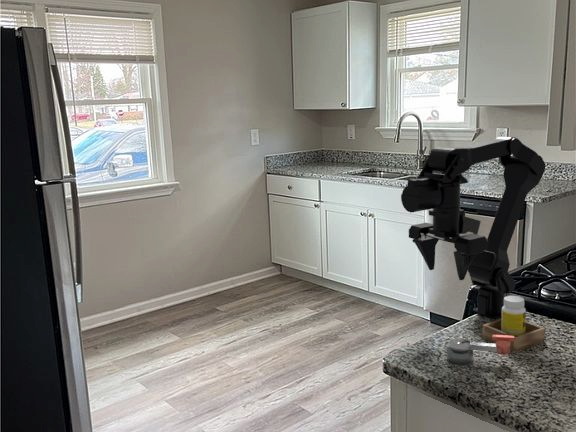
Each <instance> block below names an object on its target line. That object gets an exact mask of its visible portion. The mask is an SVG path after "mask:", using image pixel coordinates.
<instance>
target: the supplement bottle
mask: <svg viewBox="0 0 576 432" xmlns="http://www.w3.org/2000/svg"><path fill="white" fill-rule="evenodd" d="M526 314H527V309H526V307H525V299H524V297H522V296H518V295H507V296H506V297H504V306H503V307H502V317H501V319H502V321H501V331H503V332H505V333H507V334H510V335H512V336H515V337H518V336H520V335H523V334H525V323H526V322H527V320H526V317H527V316H526Z"/></svg>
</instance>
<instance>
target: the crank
mask: <svg viewBox="0 0 576 432" xmlns="http://www.w3.org/2000/svg"><path fill="white" fill-rule="evenodd" d="M492 340H496V344H495V343H493V342H488V343H487V342H477V341H476V342H475V341H470V340H469V339H465V338H463V337H462V338H460V337H457V338H456V337H455V338H452V339H450V340H449V348H450V349H451V350H452V351H455V352H468V351H470V350H473V351H483V352H495V353H497V354H499V355H502V356H505V355H506V356H507V355H509V354H510V353H511V350H510V341H514V336H507V335H492Z"/></svg>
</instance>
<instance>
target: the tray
mask: <svg viewBox="0 0 576 432" xmlns="http://www.w3.org/2000/svg"><path fill="white" fill-rule="evenodd" d="M501 321H502V318H499V319H497V320H493V321H490V322H488V323H485V324H482V339H484V340H486V341H489V342H490V343H494V344H496V340H492V335H507V336H512V335H510V334H507V333H505V332H503V331H501ZM545 338H546V328H545V327H543V326H540V325H538V324H536V323H535V324H534V323H532V322H529V321H526V323H525V334H523V335H520V336H518V337H515V336H514V341H510V352H511V351H512V352H514V353H519V352H522V351H524V350H527V349H529V348H532V347H534V346H537V345H540V344H543V343H545V342H546V341H545V340H546V339H545Z"/></svg>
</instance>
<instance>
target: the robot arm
mask: <svg viewBox="0 0 576 432" xmlns="http://www.w3.org/2000/svg"><path fill="white" fill-rule="evenodd" d="M495 159H498V162H499V164H500V165H501V166H502V167H503V168H504V170H503V175H502V176H503V181H504V185H505V188H504V191H503V193H502V197H501V199H500V202H499V205H498V209H497V210H496V214H495V216H494V218H493V219H494V220H493V222H492V225H491V228H490V230H489V233H488V236H487V237H486V236H485V235H480V234H478V233H479V229H480V227H481V226H480V225H481V223H482V221H481V220H478V219H475V218H472V217H468V216H466V212H465V209H461V185H464V184H467V183H468V182H469V180H468V179H467V178H466V177H464V175H463V174H464V173H466V172H467V171H469V170H470V169H471V167H472V166H474V165H476V164H480V163H483V162H489V161H490V160H491V161H493V160H495ZM545 171H546V162H545V160H544V159H543V157H542V156H541V155H539V154H538V153H537V151H535V150H533V149H532V148H530V147H528V146H527V145H525V144H524V143H522V141H521V140H520V138H519V139H518V138H517V137H515V136H498V137H496V138H495V139H489V140H486V141H482V142H477V143H474V144H470V145H465V146H461V147H460V146H459V147H458V146H440V147H438V146H436V147H434V148H432V149H431V150H430V153H429V155H428V157H427V159H426V161H425V163H424V165H423V167H422V168H421V170H420V173H419V174H418V177H417V178H416V179H414V178H412V179H407V185H406V186H405V187H404V188H403V189H402V193H401V194H400V198H401V199H400V200H401V201H400V202H401V204H402V206H403V208H404V209H405V210H406V211H407V212H408V213H417V212H422V211H427V210H428V215H429V216H430V217H432V223H429V222H422V223H418V224H412V225H410V227H409V228H408V238H409V239H412V243H414V245H416V247H417V249H418V251H419V252H420V254H421V257H422V258H423V260H424V262H425V264H426V266H427V268H428V270H429V271H433V270H434V269H435V265H436V263H435V262H436V246H437V244H438V243H439V241H443V242H447V243H451V244H454V248H455V251H453V258H454V261H455V262H454V263H455V268H456V272H457V277H458V280H459V281H464V280H465V278H466V276H467V273H468V274H469V277H470V280H471V284H472V285H473V286H477V287H479V288H478V295H477V307H475V308H472V309H473V312H475V313H477V314H480V315H481V316H485V317H488V318H491V319H494V320H495V319H497V318H499V319H500V318H502V307H503V306H504V297H506V296H508V295H509V294H511V293H512V292H513V291H515V289H516V285H517V281H516V280H515V279H514V278H513V276H512V275H511V274H510V273H509V269H510V266H511V265H510V261H509V260H510V259H509V254H508V249H509V246H510V244H511V240H512V238H513V236H514V233H515V229H516V227H517V224H518V221H519V219H520V215H521V214H522V213H521V212H522V210H523V207H524V204H525V202H526V199H527V196H528V194H529V193H531V191H533V189H535V188H536V187H537V186H538V185H539V183H540V181H541V179H542V177H543V175H544V174H545ZM468 232H469V234H467V233H468Z"/></svg>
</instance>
